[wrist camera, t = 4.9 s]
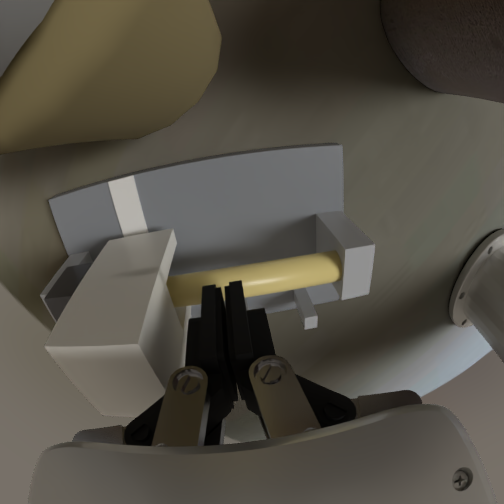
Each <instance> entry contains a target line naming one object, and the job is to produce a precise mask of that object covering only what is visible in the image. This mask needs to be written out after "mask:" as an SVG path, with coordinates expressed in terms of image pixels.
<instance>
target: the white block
mask: <svg viewBox="0 0 504 504" xmlns="http://www.w3.org/2000/svg"><path fill="white" fill-rule="evenodd" d="M176 245H177V241H176V237H175V233H174V230H173V228H172V229H166V230H161V231H155V232H150V233H144V234H139V235H134V236H129V237H124V238H119V239H114V240H109V241H108V242H107V244H106V245H105V247H104V248H103V249H102V251H101V252H100V254H99V255H98V257H97V258H96V259H95V261H94V262H93V264H92V265H91V267H90V268H89V270H88V271H87V273H86V274H85V276H84V278H83V279H82V281H81V282H80V284H79V285H78V287H77V289H76V290H75V292H74V293H73V295H72V297H71V298H70V300H69V302H68V303H67V305H66V307H65V309H64V310H63V312H62V314H61V315H60V317H59V319H58V321H57V323H56V324H55V326H54V328H53V330H52V332H51V334H50V336H49V338H48V340H47V342H46V343H45V346H44V347H45V349H46V350H47V351H48V353H49V354H50V355H51V357H52V358H53V360H54V361H55V362H56V363H57V365H58V366H59V367H60V368H61V369H62V371H63V372H64V374H65V375H66V376H67V377H68V378H69V380H70V381H71V382H72V383H73V384H74V385H75V387H76V388H77V389H78V390H79V391H80V392H81V393H82V395H83V396H84V397H85V398H86V399H87V400H88V401H89V402H90V403H91V404H92V405H93V406H94V407H95V408H96V410H98V412H99V413H101V415H103V416H115V417H134V418H135V417H138V416H139V415H140V414H141V413H143V412H144V411H145V410H146V409H148V408H149V407H150V406H151V405H153V404H154V403H155V402H156V401H157V400H159V399H160V398H161V397H162V396H163V395H165V391H166V388H167V384H168V381H169V378H170V376H171V375H172V374H173V373H174V372H175V371H176V370H178V369H179V368H182V367H185V355H186V342H187V330H188V321H189V318H190V316H191V306H192V305H191V306H184V307H176V308H174V305H173V302H172V299H171V296H170V294H169V291H168V288H167V285H166V282H167V278H168V274H169V270H170V267H171V263H172V259H173V255H174V252H175V248H176Z"/></svg>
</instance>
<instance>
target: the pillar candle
mask: <svg viewBox="0 0 504 504" xmlns="http://www.w3.org/2000/svg"><path fill="white" fill-rule="evenodd" d="M381 18H382V23H383V26H384V29H385V31H386V36H387V38H388V40H389V43H390V45H391V47H392V49H393V50H394V52H395V53H396V55H397V57H398V58H399V59H400V61H401V62H402V64H403V65H404V66H405V67H406V69H407V70H408V71H409V72H410V73H411V74H412V75H413V76H414V77H415V78H416V79H417V80H419V81H420V82H421V83H422V84H424V85H425V86H427V87H428V88H430V89H432V90H434V91H437V92H441V93H446V94H453V95H461V96H468V97H474V98H480V99H485V100H490V101H495V102H500V103H504V0H381Z"/></svg>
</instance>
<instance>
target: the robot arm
mask: <svg viewBox="0 0 504 504" xmlns="http://www.w3.org/2000/svg"><path fill="white" fill-rule="evenodd" d="M224 288H225V303H224V299H223V294H222V290H221V287H216V285H215V284H213V285H206V286H202V299H201V317H197V318H189V321H188V330H187V342H186V355H185V367H182V368H179V369H178V370H176V371H175V372H174V373H173V374H172V375H171V376H170V378H169V381H168V384H167V388H166V391H165V395H163V396H162V397H161V398H160V399H159V400H157V401H156V402H155V403H154V404H153V405H151V406H150V407H149V408H148V409H146V410H145V411H144V412H143V413H141V414H140V415H139V416H138V417H136V418H135V419H134V420H133V421H132V422H130V423H129V425H127V426H126V427H123V426H122V425H118V426H112V427H104V428H97V429H89V430H82V431H79V432H78V433H77V434H75V436H74V438H73V440H72V442H66V443H60V444H57V445H54V446H51V447H49V448H47V449H45V450H44V451H43V452H42V453H41V455H40V456H39V458H38V460H37V463H36V465H35V469H34V472H33V476H32V480H31V485H30V492H29V498H28V504H497V501H496V498H495V494H494V491H493V488H492V486H491V483H490V480H489V478H488V475H487V472H486V470H485V468H484V465H483V463H482V460H481V458H480V456H479V453H478V451H477V449H476V447H475V446H474V444H473V442H472V440H471V438H470V436H469V434H468V433H467V431H466V429H465V428H464V426H463V425H462V423H461V422H460V420H459V419H458V418H457V417H456V416H455V414H454V413H453V412H452V411H450V410H449V409H447V408H446V407H443V406H439V405H434V404H422V401H421V398H420V396H419V395H418V394H417V393H415V392H413V391H410V390H402V391H395V392H388V393H381V394H372V395H363V396H358V398H355V399H349V398H347V397H346V396H344V395H341V394H339V393H336V392H334V391H332V390H329V389H327V388H325V387H322V386H320V385H318V384H316V383H313V382H311V381H309V380H307V379H305V378H302V377H300V376H298V375H296V374H294V372H293V370H292V367H291V365H290V364H289V363H288V361H287V360H285V359H284V358H282V357H279V356H276V354H275V350H274V346H273V342H272V337H271V333H270V329H269V324H268V320H267V316H266V312H265V308H258V309H252V310H247V309H246V303H245V297H244V291H243V285H242V280H239V281H233V282H229V286H224ZM225 306H226V307H225ZM449 314H450V317H451V319H452V321H453V322H454V323H455V324H456V325H457V326H458V327H468V326H472V325H474V326H475V327H476V329H477V330H478V331H479V332H480V333H481V335H482V336H483V337H484V338H485V340H486V341H487V342H488V343H489V345H490V346H491V347H492V349H493V350H494V351H495V352H496V354H497V355H498V356H499V358H500V359H501V360H502V362H503V363H504V229H502V230H498V231H496V232H494V233H493V234H491V235H490V236H489V237H487V238H486V239H485V240H484V241H483V242H482V243H481V244H480V245H479V246H478V248H477V249H476V250H475V251H474V253H473V254H472V255H471V257H470V258H469V260H468V261H467V263H466V264H465V266H464V268H463V270H462V271H461V273H460V275H459V277H458V279H457V281H456V284H455V286H454V289H453V292H452V295H451V299H450V303H449ZM236 382H237V384H236ZM237 385H238V389H239V392H240V395H241V399H242V400H245V401H246V405H247V408H248V409H249V410H250V411H252V412H254V413H255V414H257V415H258V416H259V420H260V423H261V425H262V428H263V431H264V434H265V437H266V440H260V441H253V442H245V443H237V444H225V445H223V443H224V433H225V424H226V420H225V417H226V416H227V415H228V414H229V413H230V412H231V409H233V408H234V404H233V401H238V394H237Z"/></svg>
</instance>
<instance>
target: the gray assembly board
mask: <svg viewBox="0 0 504 504" xmlns="http://www.w3.org/2000/svg"><path fill="white" fill-rule="evenodd" d="M48 201H49V204H50V207H51V210H52V213H53V216H54V219H55V222H56V225H57V228H58V230H59V233H60V236H61V238H62V241H63V244H64V246H65V249H66V251H67V254H68V256H69V257H68V259H67V260H66V261H65V262H64V264H63V265H62V266H61V267H60V269H59V270H58V271H57V273H56V274H55V275H54V276H53V278H52V279H51V280H50V282H49V283H48V285H47V286H46V287H45V289H44V290H43V291H42V293H41V294H40V296H41V298H42V300H43V302H44V304H45V306H46V307H47V309H48V311H49V313H50V314H51V316H52V318H53V319H54V321H55V323H57V321H58V319H59V317H60V315H61V314H62V312H63V310H64V309H65V307H66V305H67V303H68V302H69V300H70V298H71V297H72V295H73V293H74V292H75V290H76V289H77V287H78V285H79V284H80V282H81V281H82V279H83V278H84V276H85V274H86V273H87V271H88V270H89V268H90V267H91V265H92V264H93V262H94V261H95V259H96V258H97V257H98V255H99V254H100V252H101V251H102V249H103V248H104V247H105V245H106V244H107V242H108V241H109V240H114V239H119V238H124V237H129V236H134V235H139V234H144V233H150V232H155V231H161V230H166V229H172V228H173V230H174V233H175V237H176V241H177V245H176V248H175V252H174V255H173V259H172V263H171V267H170V270H169V274H168V278H167V282H166V285H167V288H168V291H169V294H170V296H171V299H172V302H173V305H174V308H176V307H184V306H191V305H192V306H191V316H190V318H197V317H201V299H202V286H206V285H213V284H215V285H216V287H221V290H222V294H223V299H224V303H225V288H224V286H229V282H233V281H239V280H242V285H243V291H244V297H245V303H246V309H247V310H252V309H258V308H265V312H266V314H267V313H273V312H278V311H284V310H290V309H295V308H297V310H298V313H299V315H300V318H301V321H302V324H303V326H304V329H305V330H306V329H311V328H316V327H317V319H318V315H317V313H316V311H315V308H314V306H313V305H316V304H321V303H326V302H331V301H336V300H339V297H340V298H341V300H345V299H349V298H354V297H358V296H363V295H367V294H369V289H370V282H371V275H372V268H373V260H374V251H375V244H374V243H373V242H372V241H371V240H370V239H369V238H368V237H367V236H366V235H365V234H364V233H363V232H362V231H361V230H360V229H359V228H358V227H357V226H356V225H355V224H354V223H353V222H352V221H351V220H350V219H349V218H348V217H347V216H346V215H345V214H344V213H343V147H342V145H341V144H338V143H323V144H308V145H296V146H285V147H275V148H266V149H258V150H250V151H242V152H235V153H228V154H222V155H216V156H210V157H204V158H198V159H193V160H188V161H182V162H177V163H172V164H168V165H163V166H158V167H154V168H150V169H145V170H141V171H137V172H133V173H129V174H125V175H121V176H117V177H114V178H110V179H106V180H103V181H99V182H96V183H92V184H89V185H86V186H82V187H79V188H76V189H73V190H70V191H67V192H64V193H61V194H58V195H55V196H54V197H52V198H51V199H49V200H48ZM225 307H226V306H225Z"/></svg>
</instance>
